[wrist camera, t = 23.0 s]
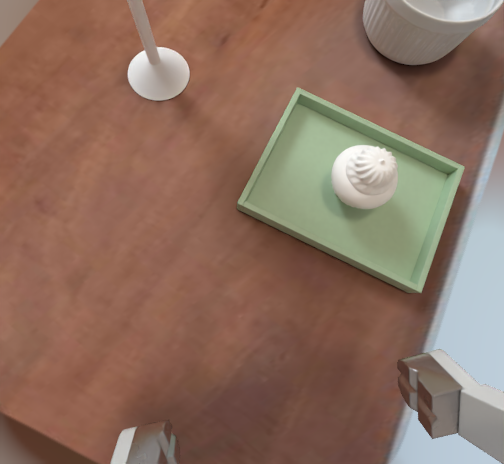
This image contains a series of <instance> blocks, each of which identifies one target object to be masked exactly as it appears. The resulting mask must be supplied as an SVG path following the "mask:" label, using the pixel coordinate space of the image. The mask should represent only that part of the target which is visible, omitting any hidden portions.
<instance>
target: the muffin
mask: <svg viewBox="0 0 504 464" xmlns="http://www.w3.org/2000/svg"><path fill="white" fill-rule="evenodd" d="M397 168H398V165H397V163H396V158H395V157H394V156H392V153H391V152H387V151H386V149H385V148H383V149H380V148H379V147H378V146H377V147H374V146H369V145H357V146H352V147H350V148H348V149H346V150H344V151H343V152H342V153H341V154H340V155H339V156H338V157H337V158H336V160H335V162H334V164H333V167H332V172H331V179H332V181H331V183H332V185H333V186H332V188H333V190H334V193H335V194H336V195H337V196H338V198H339V199H340V200H341V201H342V202H344V203H345V204H346V205H349V206H351V207H353V208H354V207H356V208H358V209H359V208H360V209H374V208H377V207H379V206H382V205H383V204H385V203H386V202H387V201H389V200H390V198H391V197H392V196H393V194H394V192H395V190H396V187H397V183H398V172H397Z"/></svg>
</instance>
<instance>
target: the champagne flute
mask: <svg viewBox="0 0 504 464" xmlns="http://www.w3.org/2000/svg"><path fill="white" fill-rule="evenodd" d="M127 2H128V4H129V7H130V10H131V13H132V16H133V18H134V21H135V24H136V27H137V30H138V32H139V35H140V38H141V41H142V43H143V46H144V49H145V50H144V51H142V52H140V53H139V54H138V55H136V56H135V57H134V59H133V60H132V61H131V63H130V65H129V68H128V80H129V83H130V85H131V87H132V88H133V89H134V91H135V92H137V93H138V94H139V95H141V96H142V97H144V98H147V99H150V100H161V101H162V100H168V99H170V98H173V97H175V96H177V95H178V94H180V93H181V92H182V91H183V90H184V89H185V87H186V86H187V84H188V81H189V77H190V71H189V67H188V64H187V62H186V61H185V59H184V58H183V57H182V56H181V55H180V54H179V53H177V52H175V51H174V50H171V49H168V48H163V47H156V44H155V41H154V37H153V34H152V31H151V28H150V24H149V21H148V18H147V15H146V11H145V8H144V5H143V1H142V0H127Z"/></svg>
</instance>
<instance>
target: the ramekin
mask: <svg viewBox="0 0 504 464" xmlns="http://www.w3.org/2000/svg"><path fill="white" fill-rule="evenodd" d="M503 2H504V0H366V1H365V4H364V10H363V24H364V27H365V30H366V34H367V36H368V38H369V40H370V42H371V43H372V45H373V46H374V47H375V48H376V49H377V50H378V51H379V52H380V53H381V54H382V55H384V56H385V57H387V58H389V59H390V60H393V61H395V62H398V63H401V64H406V65H421V64H427V63H431V62H433V61H437V60H438V59H440V58H442V57H444V56H445V55H446V54H448V53H449V52H450V51H452V50H453V49H454V48H455V47H457V46H458V45H459V44H460V43H461V42H462V41H463V40H464V39H466V38H467V37H468V36H469V35H470V34H471V33H472V32H473V31H474V30H475V29H477V28H478V27H480V26H482V25H483V24H484V23H486V22H487V21H488V20H489V19H490V18H491V17H492V16H493V15H494V14H495V13H496V11H497V10H498V9H499V8H500V7H501V5H502V4H503Z"/></svg>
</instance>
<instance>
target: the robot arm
mask: <svg viewBox="0 0 504 464" xmlns="http://www.w3.org/2000/svg"><path fill="white" fill-rule="evenodd" d="M397 368H398V370H399V371H400V372H401V374H400V376H399V377H398V386H399V389H400V392H401V394H402V396H403V398H404V400H405V402H406V403H407V404H408V406H409V407H410V408H412V409H413V410H415V411H417V412H418V420H419V421H420V423H421V424H422V425H423V427H424V428H425V430H426V431H427V432H428V434H429V435H430V436H431V438H432V439H434V438H438V437H443V436H446V435H451V434H455V433H458V434H459V435H460V436H461V437H463V438H464V439H466V440H468V441H469V442H471V443H472V444H473V445H475V446H477V447H478V448H480V449H481V450H483V451H484V452H486V453H487V454H489V455H490V456H492V457H493V458H495V459H496V460H498V461H499V462H501V463H502V464H504V392H503V391H501V390H498V389H496V388H493V387H491V386H489V385H486V384H483V385H480V384H479V383H478V382H477V381H476V380H475V379H474V378H472V377H471V376H470V375H469V374H468V373H467V372H466V371H465V370H464V369H463V368H462V367H461V366H460V365H458V364H457V363H456V362H455V361H454V360H453V359H452V358H451V357H450V356H449V355H448V354H446V353H445V352H444V351H443V350H441V349H438V350H434V351H430V352H426V353H421V354H418V355H414V356H410V357H407V358H403V359H399V360H398V362H397ZM171 432H172V425H171V423H170V421H169V420H163V421H159V422H154V423H150V424H145V425H141V426H137V427H133V428H129V429H125V430H123V431H122V432H121V434H120V435H119V438H118V441H117V444H116V447H115V450H114V454H113V457H112V460H111V463H110V464H179V463H180V449H179V444H178V440H177V437H176V436H175V435H174V434H172V433H171Z"/></svg>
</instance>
